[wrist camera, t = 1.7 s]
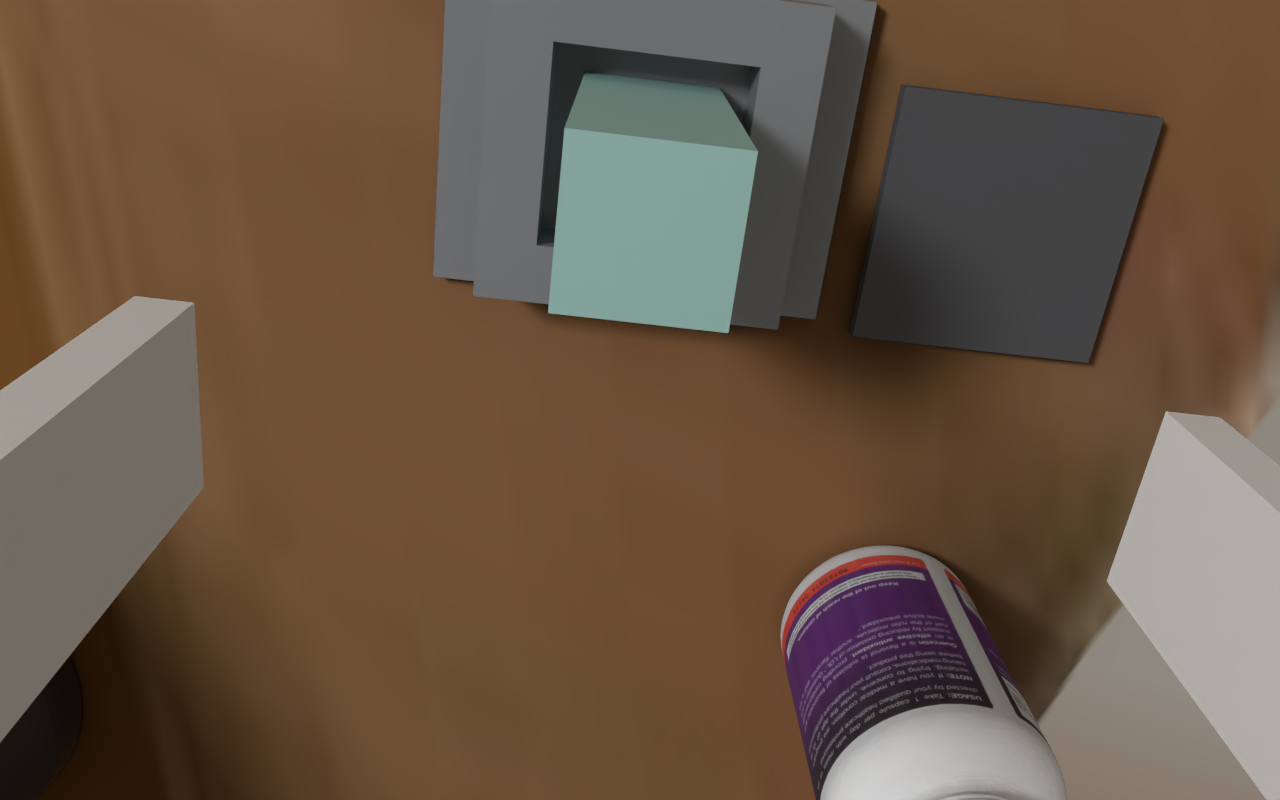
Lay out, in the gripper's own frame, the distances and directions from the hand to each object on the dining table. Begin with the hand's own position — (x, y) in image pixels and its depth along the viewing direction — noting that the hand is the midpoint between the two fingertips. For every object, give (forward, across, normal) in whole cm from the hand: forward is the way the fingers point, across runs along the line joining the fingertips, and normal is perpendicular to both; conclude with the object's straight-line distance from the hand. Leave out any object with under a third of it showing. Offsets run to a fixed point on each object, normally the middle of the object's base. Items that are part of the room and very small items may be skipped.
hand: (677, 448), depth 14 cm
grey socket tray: (+24, 0, 0) cm, 24 cm away
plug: (+24, 0, 0) cm, 24 cm away
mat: (+24, +13, -2) cm, 28 cm away
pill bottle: (+25, +12, -19) cm, 33 cm away
